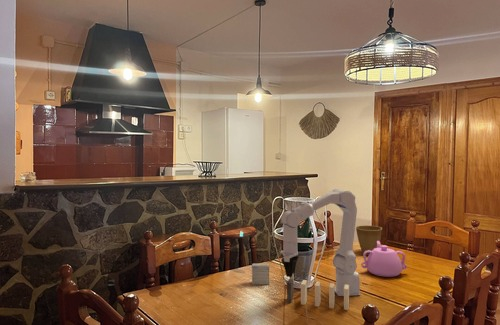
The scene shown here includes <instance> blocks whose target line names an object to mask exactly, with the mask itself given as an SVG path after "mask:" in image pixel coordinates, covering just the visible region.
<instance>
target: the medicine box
mask: <svg viewBox="0 0 500 325" xmlns="http://www.w3.org/2000/svg"><path fill="white" fill-rule="evenodd" d="M251 283H252V286H254V285H255V286H257V285H261V286H262V285H263V286H264V285H270V264H269V263H266V262H265V263H264V262H262V263H260V262H259V263H252V264H251Z"/></svg>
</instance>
